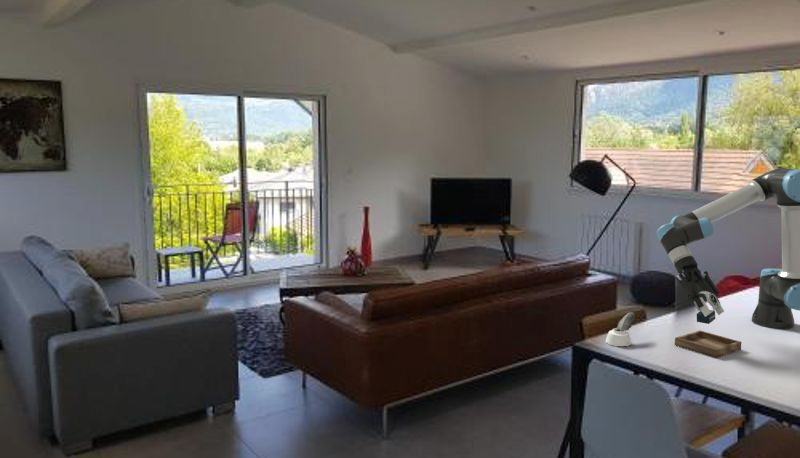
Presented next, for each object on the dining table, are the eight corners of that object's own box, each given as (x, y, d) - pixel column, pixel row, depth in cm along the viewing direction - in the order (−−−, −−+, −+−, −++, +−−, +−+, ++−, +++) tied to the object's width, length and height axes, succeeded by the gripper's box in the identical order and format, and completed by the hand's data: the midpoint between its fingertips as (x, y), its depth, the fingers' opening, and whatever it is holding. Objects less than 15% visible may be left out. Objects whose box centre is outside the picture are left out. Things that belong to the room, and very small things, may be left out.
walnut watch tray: (699, 337, 240) (699, 330, 240) (740, 349, 227) (741, 341, 227) (674, 345, 231) (675, 337, 231) (716, 358, 218) (716, 350, 218)
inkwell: (601, 343, 234) (602, 317, 232) (620, 332, 247) (621, 307, 246) (625, 348, 228) (627, 322, 226) (643, 336, 241) (645, 312, 240)
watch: (714, 325, 224) (713, 296, 222) (691, 320, 230) (691, 292, 228) (721, 319, 228) (720, 291, 225) (698, 315, 234) (697, 288, 231)
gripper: (696, 264, 243) (727, 316, 231) (658, 267, 237) (688, 321, 224) (708, 253, 238) (741, 306, 225) (669, 256, 231) (701, 311, 219)
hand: (714, 313), depth 225 cm, fingers closed on watch, 6 cm apart
